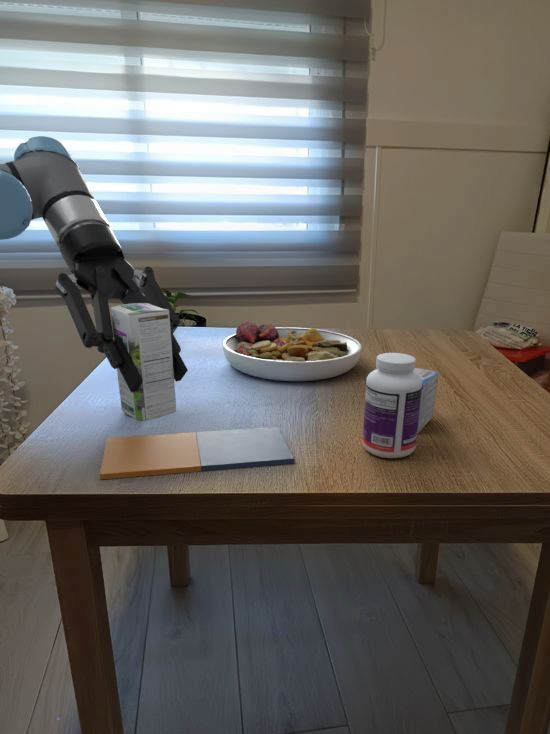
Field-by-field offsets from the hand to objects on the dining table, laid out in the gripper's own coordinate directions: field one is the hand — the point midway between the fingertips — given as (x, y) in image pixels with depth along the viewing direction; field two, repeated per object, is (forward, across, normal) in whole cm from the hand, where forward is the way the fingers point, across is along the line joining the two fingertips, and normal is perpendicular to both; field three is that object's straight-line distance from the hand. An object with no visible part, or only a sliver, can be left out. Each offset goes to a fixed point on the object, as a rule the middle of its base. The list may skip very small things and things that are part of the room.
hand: (160, 380), depth 75 cm
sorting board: (+9, -5, -9) cm, 13 cm away
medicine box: (+19, -39, +2) cm, 43 cm away
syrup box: (+1, 0, -6) cm, 7 cm away
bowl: (-8, -47, -26) cm, 54 cm away
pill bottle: (+22, -27, +4) cm, 35 cm away
